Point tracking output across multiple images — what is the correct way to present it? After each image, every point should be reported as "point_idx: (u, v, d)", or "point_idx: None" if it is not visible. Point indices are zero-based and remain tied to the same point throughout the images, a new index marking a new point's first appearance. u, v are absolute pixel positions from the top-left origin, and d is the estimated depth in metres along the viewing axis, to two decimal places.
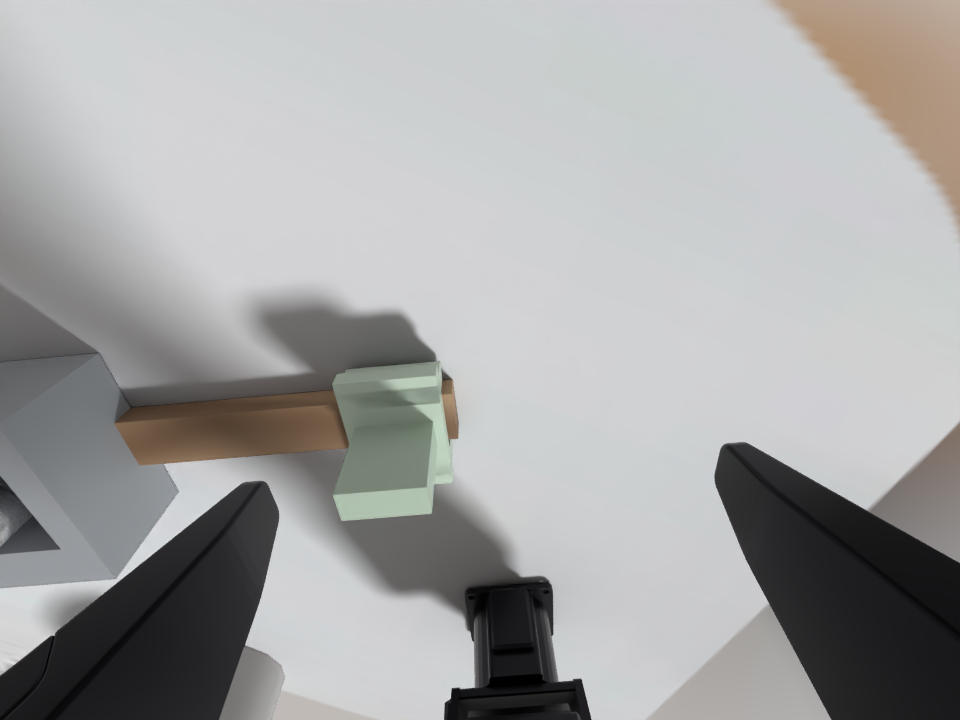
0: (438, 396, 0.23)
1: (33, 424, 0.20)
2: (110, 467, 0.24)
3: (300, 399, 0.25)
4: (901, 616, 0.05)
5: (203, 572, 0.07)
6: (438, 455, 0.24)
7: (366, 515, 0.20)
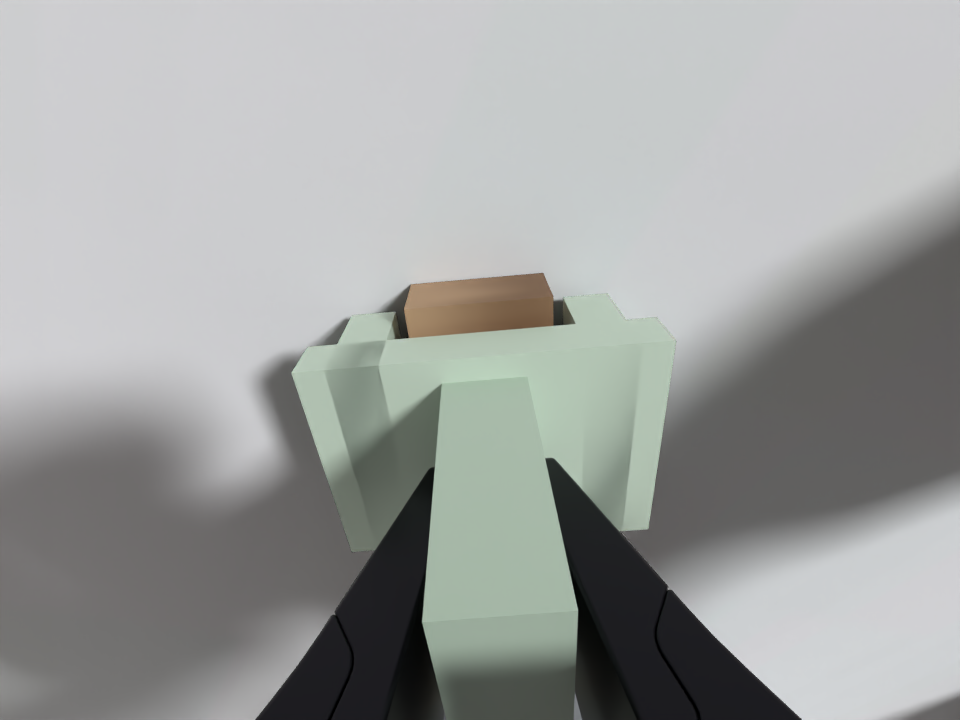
0: (359, 367, 0.08)
1: None
2: None
3: None
4: (595, 639, 0.06)
5: None
6: (562, 374, 0.09)
7: None
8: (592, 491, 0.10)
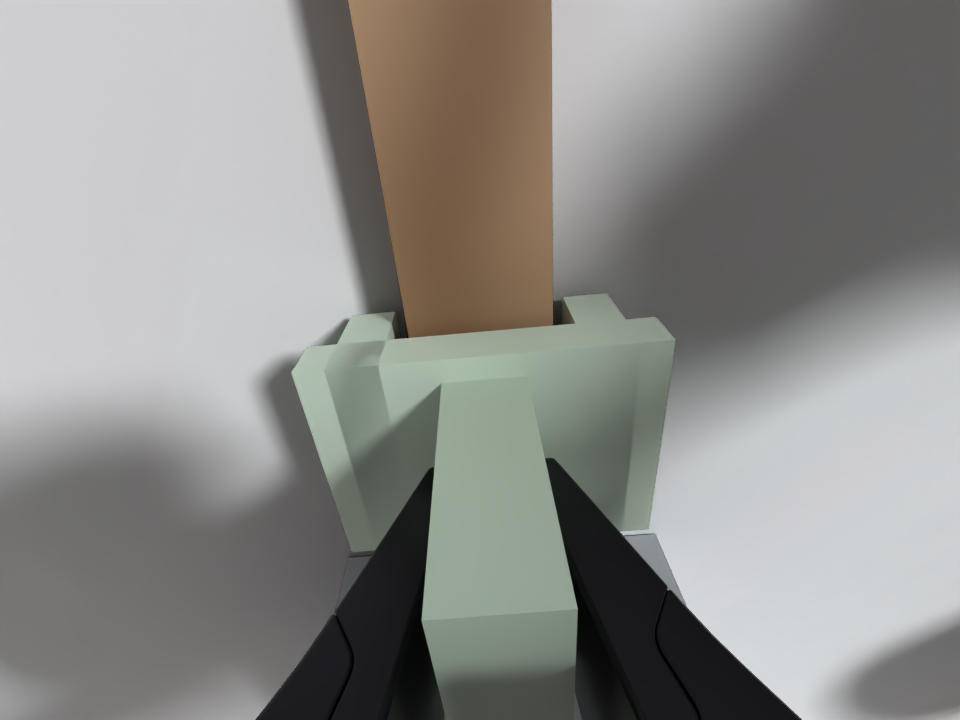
0: (359, 367, 0.08)
1: None
2: None
3: None
4: (595, 638, 0.06)
5: None
6: (561, 374, 0.09)
7: None
8: (592, 491, 0.10)
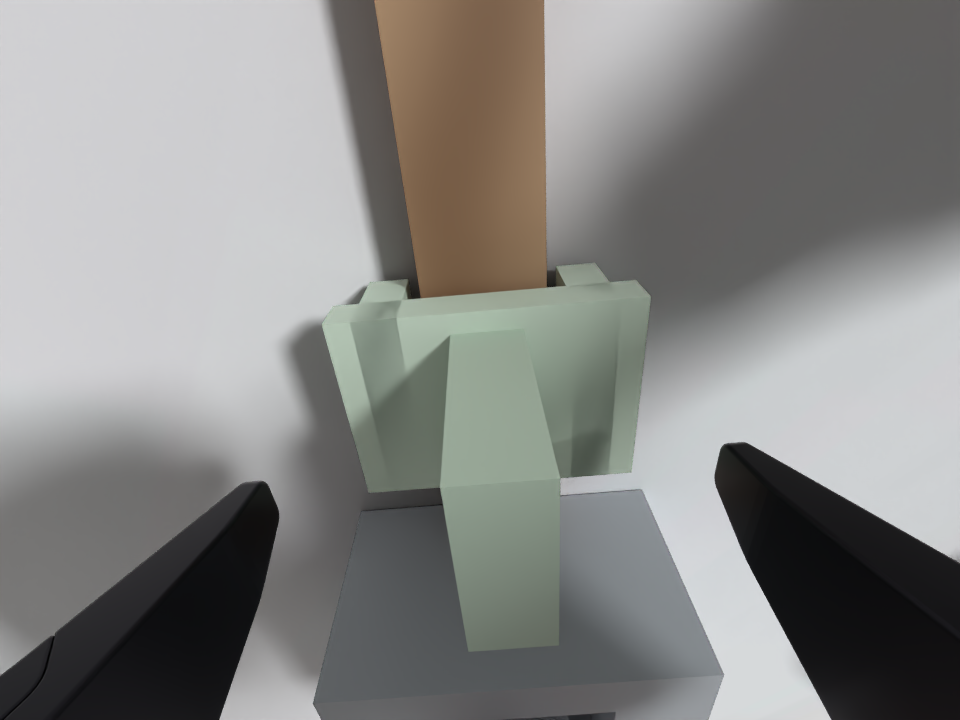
0: (380, 320, 0.10)
1: (359, 650, 0.12)
2: None
3: None
4: (901, 616, 0.05)
5: (203, 572, 0.07)
6: (553, 327, 0.10)
7: (545, 607, 0.08)
8: (581, 435, 0.12)
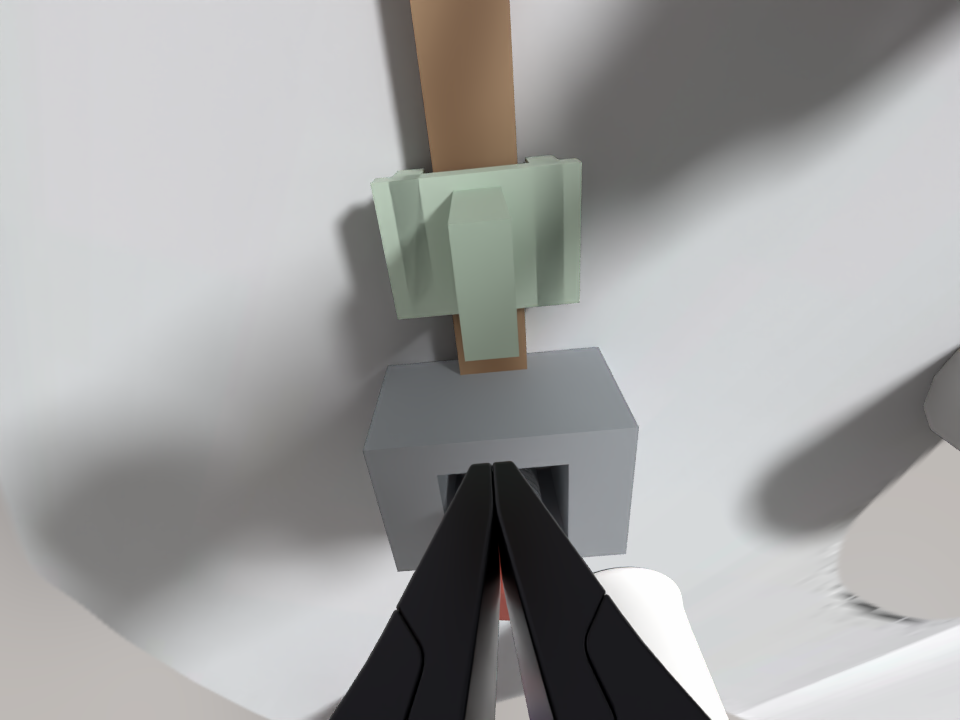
0: (407, 180, 0.15)
1: (392, 428, 0.18)
2: (500, 390, 0.19)
3: None
4: (529, 643, 0.06)
5: (491, 550, 0.07)
6: (520, 185, 0.15)
7: (509, 321, 0.13)
8: (542, 271, 0.17)
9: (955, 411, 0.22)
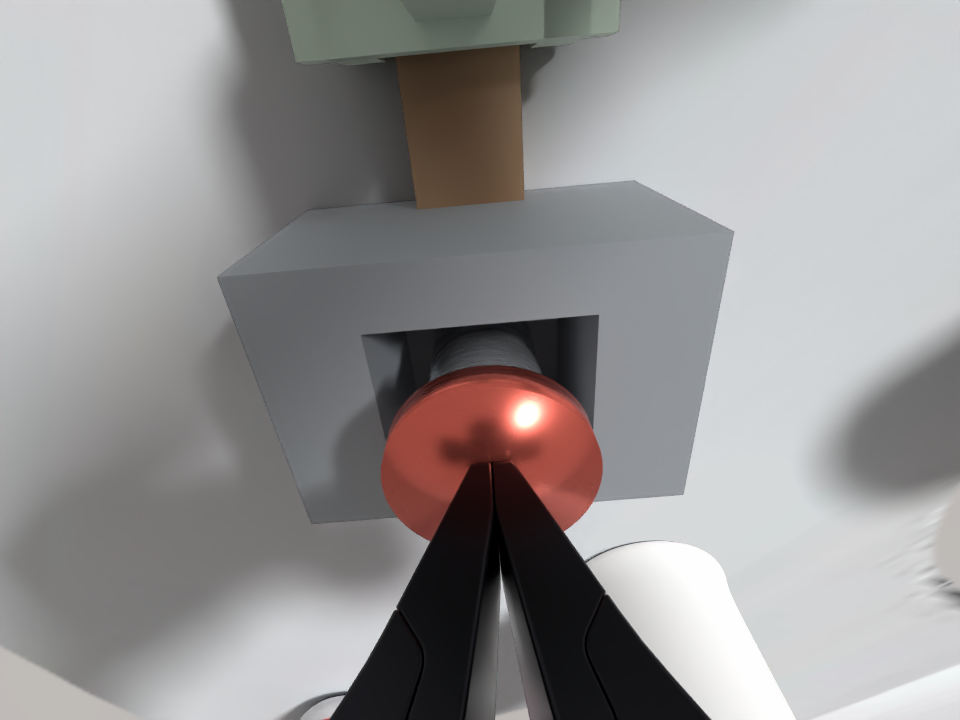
0: None
1: (284, 254, 0.10)
2: (480, 216, 0.12)
3: None
4: (529, 643, 0.06)
5: (491, 550, 0.07)
6: None
7: None
8: None
9: None
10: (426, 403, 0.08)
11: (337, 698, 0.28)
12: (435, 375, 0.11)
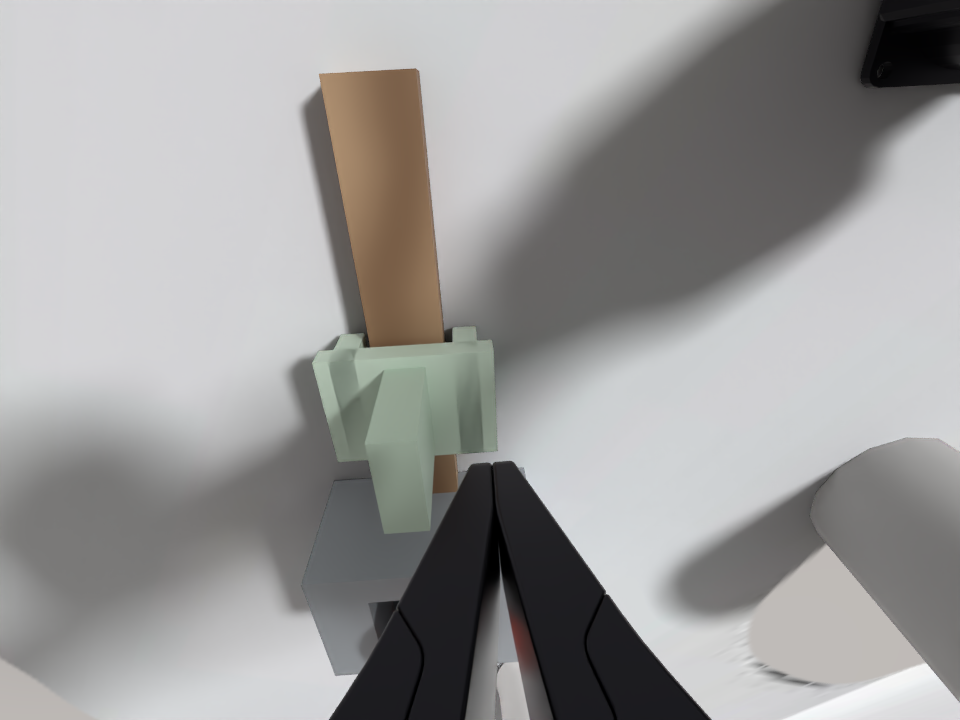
0: (344, 361, 0.18)
1: (330, 558, 0.20)
2: (431, 517, 0.22)
3: None
4: (529, 643, 0.06)
5: (491, 550, 0.07)
6: (441, 366, 0.18)
7: (420, 507, 0.16)
8: (464, 428, 0.20)
9: (831, 526, 0.26)
10: None
11: None
12: None
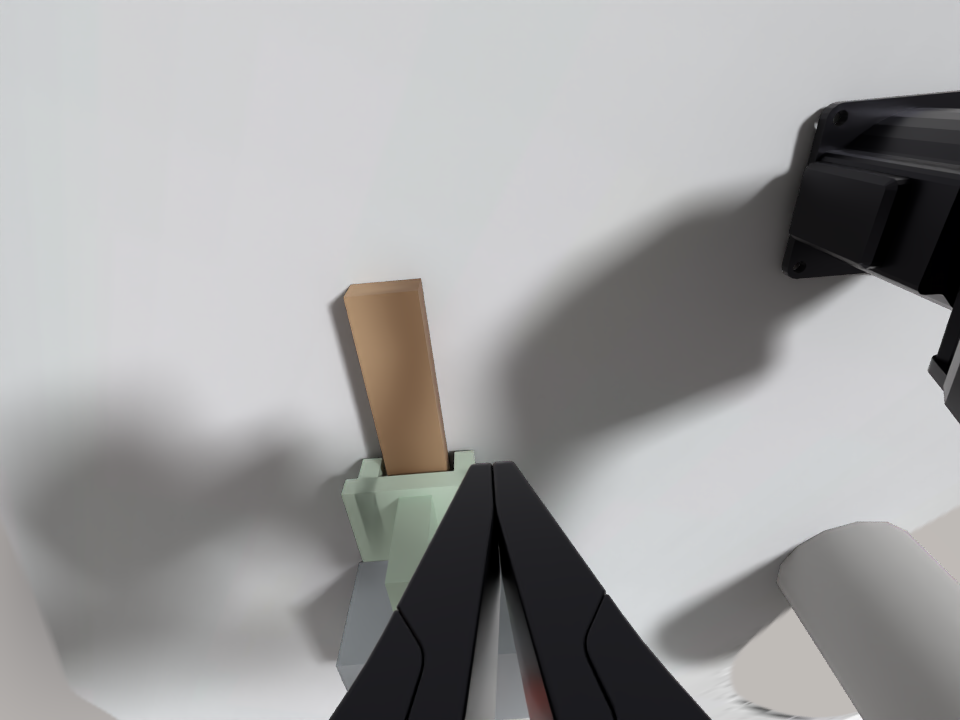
0: (367, 492, 0.22)
1: (358, 641, 0.25)
2: None
3: None
4: (529, 644, 0.06)
5: (491, 550, 0.07)
6: (445, 494, 0.22)
7: None
8: None
9: (792, 596, 0.29)
10: None
11: None
12: None
